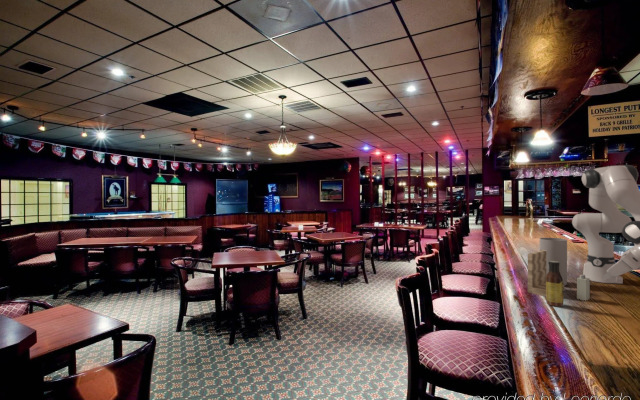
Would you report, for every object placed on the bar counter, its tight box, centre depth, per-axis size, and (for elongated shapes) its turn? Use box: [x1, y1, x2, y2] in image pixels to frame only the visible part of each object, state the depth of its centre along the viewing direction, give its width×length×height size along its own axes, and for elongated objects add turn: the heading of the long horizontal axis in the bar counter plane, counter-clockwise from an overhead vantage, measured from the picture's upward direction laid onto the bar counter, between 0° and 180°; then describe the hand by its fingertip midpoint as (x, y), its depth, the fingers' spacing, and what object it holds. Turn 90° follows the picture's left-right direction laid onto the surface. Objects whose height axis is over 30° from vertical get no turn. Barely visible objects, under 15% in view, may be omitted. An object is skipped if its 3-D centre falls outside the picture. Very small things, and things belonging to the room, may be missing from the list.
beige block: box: [576, 274, 591, 302], centre depth 150 cm, size 5×4×12 cm
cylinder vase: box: [539, 237, 568, 286], centre depth 177 cm, size 12×12×25 cm
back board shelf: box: [527, 249, 565, 297], centre depth 162 cm, size 18×10×20 cm, turn 125°
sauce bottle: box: [545, 261, 564, 307], centre depth 143 cm, size 7×6×20 cm
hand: (605, 277), depth 143 cm, fingers open, 8 cm apart
